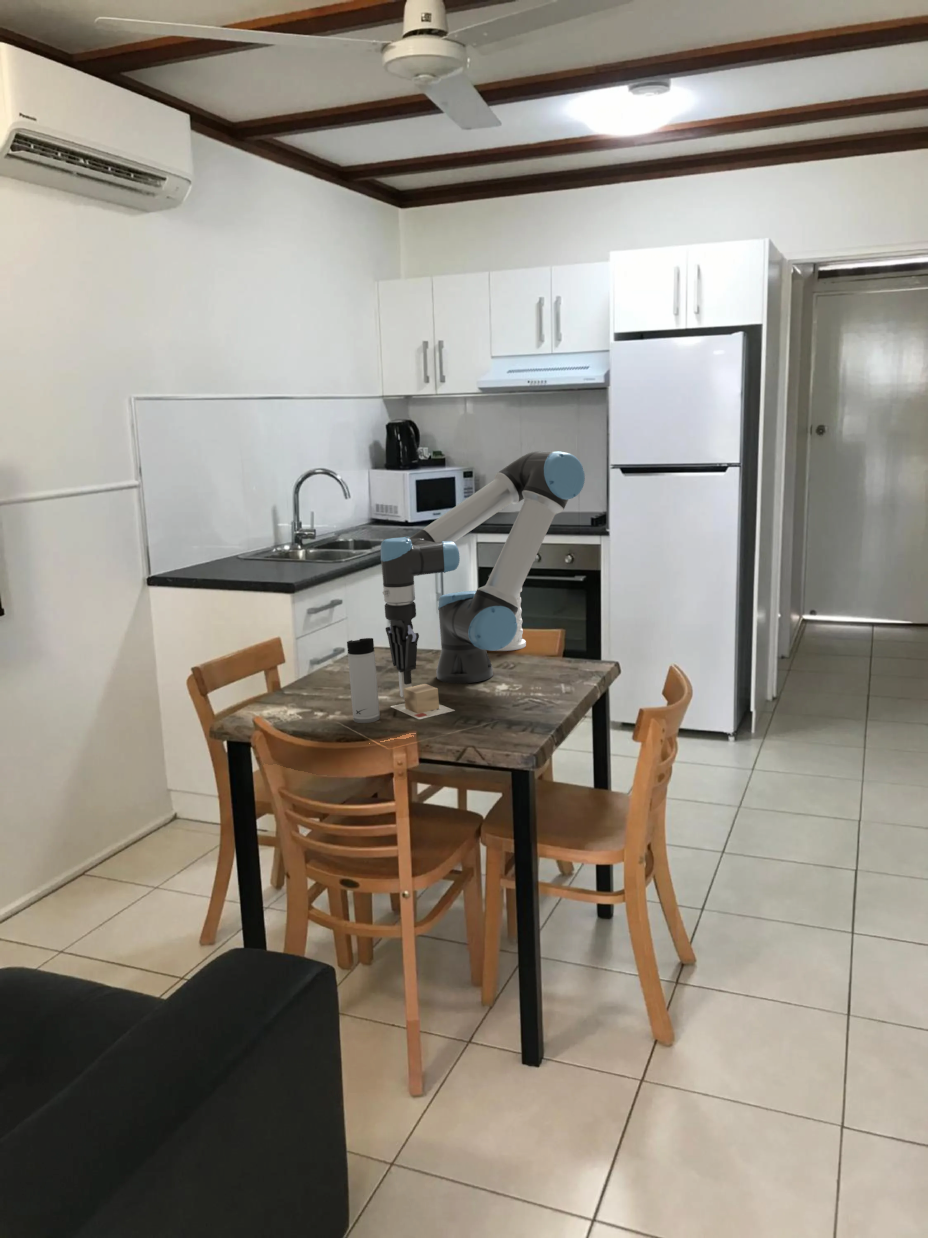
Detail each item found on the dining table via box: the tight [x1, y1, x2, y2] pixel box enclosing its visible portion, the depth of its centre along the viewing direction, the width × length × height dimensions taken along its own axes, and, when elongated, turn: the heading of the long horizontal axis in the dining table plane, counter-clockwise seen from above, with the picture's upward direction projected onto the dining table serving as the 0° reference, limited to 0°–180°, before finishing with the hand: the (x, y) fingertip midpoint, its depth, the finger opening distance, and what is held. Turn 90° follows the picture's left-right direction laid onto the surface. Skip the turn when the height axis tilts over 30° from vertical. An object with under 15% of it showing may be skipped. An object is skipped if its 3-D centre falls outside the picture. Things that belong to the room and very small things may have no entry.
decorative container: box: [495, 587, 527, 652], centre depth 298 cm, size 12×12×18 cm
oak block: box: [403, 683, 440, 714], centre depth 241 cm, size 6×6×5 cm
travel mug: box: [346, 637, 381, 724], centre depth 234 cm, size 6×7×20 cm
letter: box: [390, 702, 456, 720], centre depth 241 cm, size 14×10×1 cm
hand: (406, 695), depth 247 cm, fingers closed
